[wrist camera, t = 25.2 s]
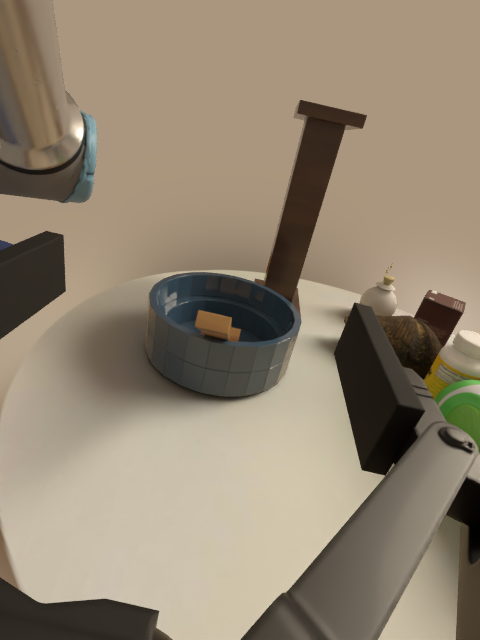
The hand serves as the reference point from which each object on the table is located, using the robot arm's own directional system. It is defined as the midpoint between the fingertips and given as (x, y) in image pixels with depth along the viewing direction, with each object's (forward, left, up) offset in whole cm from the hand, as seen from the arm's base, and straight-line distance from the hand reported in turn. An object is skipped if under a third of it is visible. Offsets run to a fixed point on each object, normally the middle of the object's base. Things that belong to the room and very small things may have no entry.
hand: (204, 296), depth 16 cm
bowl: (-15, +17, -18) cm, 29 cm away
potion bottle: (-10, +50, -18) cm, 54 cm away
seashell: (0, +39, -18) cm, 43 cm away
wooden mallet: (-10, +12, -12) cm, 19 cm away
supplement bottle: (+7, +35, -18) cm, 41 cm away
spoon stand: (-21, +35, -18) cm, 45 cm away
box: (-1, +53, -18) cm, 56 cm away
